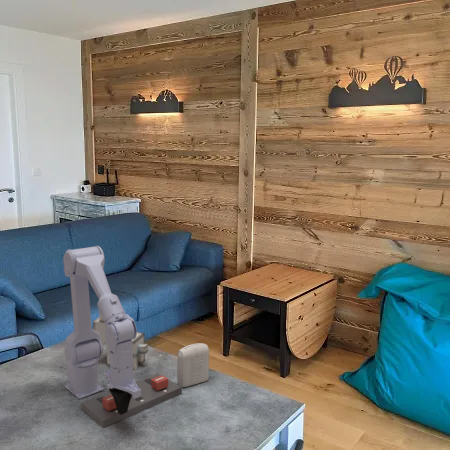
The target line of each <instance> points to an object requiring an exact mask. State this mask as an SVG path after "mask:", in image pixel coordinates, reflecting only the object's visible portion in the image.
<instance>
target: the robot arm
mask: <svg viewBox="0 0 450 450" xmlns="http://www.w3.org/2000/svg"><path fill="white" fill-rule="evenodd" d="M62 258H63V259H62V260H63V271H64V276H65V277H66V278H69V282H70V292H71V304H72V305H71V306H72V316H73V328H74V329H73V331H72V332H71V333H70V334H69V335H68V336H67V337H66V338H65V347H64V357H65V360H66V362H67V366H66V367H67V368H66V371H67V373H66V374H67V384H65V385H64V387H65V389H67V390H68V391H69V392H70V393H71V394H73V395H74V396H75V398H76V397H77V399H79V400H80V399H83V398H86V397H88V396H91V395H93V394H96V393H99V392H101V391H104V387H103V386H101V385H100V384H98V381H99V380H98V362H99V361H100V358H101V357H102V355H103V354H104V353H103V352H104V346H103V345H104V344H102V342H101V337H100V334H99V333H98V332H96V331H95V330H93V323H92V316H91V315H92V314H91V304H90V303H91V302H90V301H91V300H90V289H89V283H90V285H91V287H92V289H93V291H94V292H95V294H96V297H97V298H98V301H97V308H98V312H99V311H100V313H101V316H102V318H103V320H104V323H105V325H106V330H105V335H106V339H107V342H108V349H109V350H110V366H109V367H110V369H109V370H105V371H104V379H105V380H108V383H107V384H106V388H108V392H110V393H111V394H112V396H113V398H114V401H115V404H116V408H117V411H118V413H119V414H120V415H122V414H124V413H127V411H128V407H129V403H130V400H131V397H132V398H134V399H135V398H138V397H140V396H141V389H140V388H138V386H137V384H136V382H135V381H136V380H135V378H134V371H133V346H132V339H135V338H136V335H137V332H138V329H137V325H136V322H135V320H134V319H133V317H131V316H130V315H129V314H128V313H126V311H125V310H124V307H123V305H122V303H121V301H120V299H119V296H118V295H116V294H114V293H112V290H111V288H110V284H109V282H108V279H107V276H106V273H105V271H104V268H105V263H106V262H105V253H104V251H103V249H102V248H101V246H99V245H94V246H90V247H89V246H88V247H83V248H73V249H67V250H66V251H65V253H64V255H63V257H62Z"/></svg>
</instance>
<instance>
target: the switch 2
mask: <svg viewBox="0 0 450 450" xmlns="http://www.w3.org/2000/svg"><path fill="white" fill-rule="evenodd" d="M160 375H161V376H159V377H156V378H154V379H151V387H152V388H154V389H155V390H157V391H158V390H161V389H163V388H165V387H168V379H169V378H168V377H166V376H164V375H162V374H160Z"/></svg>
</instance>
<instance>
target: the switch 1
mask: <svg viewBox="0 0 450 450" xmlns="http://www.w3.org/2000/svg"><path fill="white" fill-rule="evenodd" d="M102 401H103V407H104V408H105V409H106V410H107V411H110V410H113V409H115V408H116V404H115V401H114V398H113V396H112V395H110V396H108V397H105V398H103V399H102Z"/></svg>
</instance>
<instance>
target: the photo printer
mask: <svg viewBox="0 0 450 450" xmlns="http://www.w3.org/2000/svg"><path fill="white" fill-rule="evenodd" d="M177 351H178V352H177V365H176V366H177V368H176V369H177V370H176V372H177V375H176V376H177V379H176V380H177V385H179V386H180V387H182V388H188V387H189V386H193V385H197V384H200V383H205V382H207V381H209V376H210V375H209V371H210V370H209V369H210V368H209V367H210V365H209V364H210V349H209V346H208V345H207V344H206V343H202V342H201V343H200V342H198V343H192V344H189V345H185V346H183V347H182V348H180V349H178V350H177Z"/></svg>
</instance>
